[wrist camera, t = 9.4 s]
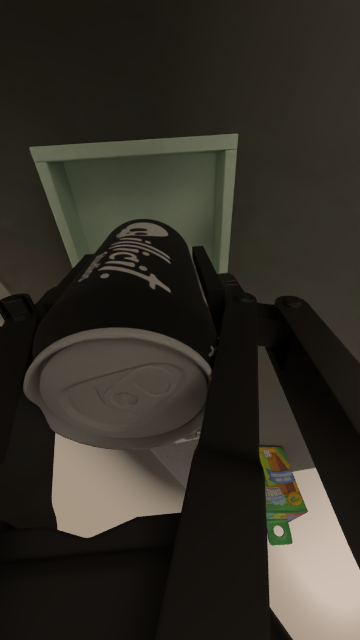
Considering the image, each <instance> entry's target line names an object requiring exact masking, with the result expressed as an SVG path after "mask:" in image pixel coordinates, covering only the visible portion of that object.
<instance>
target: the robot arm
mask: <svg viewBox="0 0 360 640" xmlns="http://www.w3.org/2000/svg"><path fill="white" fill-rule="evenodd" d="M93 255H94V254H85V255H84V256H83V258H82V259H81V260H80V261H79V262H78V263H77V264H76V266H75V267H74V268H73V269H72V270H71V271H70V272H69V273H68V275H67V276H66V277H65V278H64V279H63V280H62V281H61V282H60V284H59V285H58V286H57V287H54V288H52V289H50V290H49V291H47V292H46V293H45V294H44V295H43V297H42V298H41V299H40V300H39V301H38V302H37V303H36V304H35V305H34V303H33V301H32V299H31V297H30V296H29V295H28V294H15V295H12V296H8V297H6V298H3V299H2V300H0V314H1V315H2V317H3V319H4V320H5V322H4V324H3V326H1V327H0V640H293V639H292V638H291V637H290V635H289V634H288V632H287V631H286V629H285V628H284V626H283V625H282V624H281V622H280V621H279V619H278V618H277V617H276V615H275V614H274V612H273V611H272V610H271V608H270V607H269V580H268V579H269V578H268V549H267V519H266V490H265V475H264V469H263V466H262V464H261V463H260V453H259V399H258V345H259V346H265V348H266V351H267V353H268V355H269V358H270V360H271V363H272V365H273V367H274V370H275V372H276V374H277V377H278V379H279V382H280V384H281V386H282V389H283V391H284V393H285V396H286V398H287V400H288V403H289V405H290V408H291V410H292V412H293V415H294V417H295V419H296V422H297V424H298V427H299V429H300V431H301V434H302V436H303V438H304V441H305V443H306V445H307V448H308V450H309V453H310V455H311V457H312V460H313V462H314V464H315V467H316V469H317V471H318V474H319V476H320V479H321V481H322V483H323V486H324V488H325V490H326V493H327V495H328V497H329V500H330V502H331V505H332V507H333V509H334V512H335V514H336V516H337V519H338V521H339V524H340V526H341V528H342V531H343V533H344V535H345V538H346V540H347V543H348V545H349V547H350V549H351V551H352V554H353V556H354V558H355V560H356V562H357V564H358V567H359V569H360V363H359V362H358V361H357V360H356V359H355V357H354V356H353V355H352V354H351V353H350V352H349V350H348V349H347V348H346V347H345V346H344V345H343V344H342V342H341V341H340V340H339V339H338V338H337V337H336V335H335V334H334V333H333V332H332V331H331V330H330V329H329V327H328V326H327V325H326V324H325V323H324V322H323V320H322V319H321V318H320V317H319V316H318V315H317V314H316V312H315V311H314V310H313V309H312V308H311V307H310V305H309V304H308V303H307V302H306V301H304V300H303V299H300V298H298V297H294V296H281V297H279V298H277V299H276V300H275V304H274V305H270V304H262V303H257V300H256V297H254V296H253V295H251V294H249V293H245V292H244V291H243V289H242V288H241V286H240V285H239V283H238V282H237V280H236V279H235V277H234V276H233V275H231V274H229V273H220V274H217V273H216V271H215V269H214V267H213V265H212V263H211V261H210V259H209V257H208V255H207V253H206V251H205V249H204V247H203V246H192V258H193V261H194V265H195V268H196V271H197V274H198V277H199V280H200V283H201V286H202V290H203V293H204V296H205V299H206V302H207V305H208V308H209V311H210V314H211V318H212V321H213V324H214V327H215V330H216V333H217V336H218V337H219V341H218V346H217V351H216V356H215V361H214V367H213V372H212V377H211V382H210V387H209V392H208V397H207V402H206V407H205V412H204V417H203V422H202V427H201V432H200V437H199V442H198V445H197V447H196V449H195V452H194V455H193V459H192V463H191V468H190V473H189V477H188V482H187V487H186V493H185V497H184V502H183V506H182V511H181V513H173V514H162V515H153V516H143V517H136V518H134V519H132V520H130V521H127V522H125V523H123V524H120V525H118V526H116V527H114V528H112V529H109V530H107V531H105V532H103V533H100V534H98V535H96V536H93V537H91V538H83V537H80V536H76V535H73V534H70V533H66V532H63V531H59V530H57V521H56V516H55V513H54V510H53V507H52V497H51V496H52V478H53V462H54V460H53V459H54V444H55V432H54V431H53V430H52V429H51V428H50V426H49V424H48V422H47V419H46V417H45V415H44V413H43V411H42V410H41V408H40V407H39V406H38V405H37V404H35V403H33V402H32V401H30V400H29V399H28V398H27V397H26V395H25V394H24V392H23V383H24V378H25V375H26V372H27V371H28V369H29V367H30V365H31V364H32V362H33V355H32V347H33V341H34V337H35V333H36V330H37V328H38V326H39V324H40V322H41V321H42V319H43V318H44V317H45V315H46V314H47V313H48V312H49V310H50V309H51V308H52V306H53V305H54V304H55V303H56V301H57V300H58V299H59V298H60V296H61V295H62V294H63V293H64V291H65V290H66V289H67V288H68V286H69V285H70V284H71V282H72V281H73V280H74V279H75V277H76V276H77V275H78V274H79V272H80V271H81V270H82V269H83V267H84V266H85V265H86V264H87V262H88V261H89V260H90V258H91V257H92V256H93Z"/></svg>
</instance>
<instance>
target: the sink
mask: <svg viewBox="0 0 360 640" xmlns="http://www.w3.org/2000/svg"><path fill="white" fill-rule="evenodd" d="M237 144H238V134H225V135H209V136H194V137H178V138H163V139H147V140H132V141H116V142H101V143H85V144H69V145H54V146H38V147H29V149H30V152H31V154H32V157H33V160H34V162H36V163H35V165H36V168H37V171H38V173H39V176H40V179H41V182H42V184H43V187H44V190H45V193H46V196H47V198H48V201H49V204H50V207H51V209H52V212H53V215H54V218H55V220H56V223H57V226H58V229H59V231H60V234H61V237H62V240H63V243H64V245H65V248H66V251H67V254H68V256H69V259H70V262H71V265H72V267H73V268H74V267H75V266H76V264H77V263H78V262H79V261H80V260H81V259H82V258H83V256H84V255H85V254H94V253H95V252H96V251H97V250H98V248H99V247H100V246H101V245H102V243H103V242H104V241H105V240H106V238H107V237H108V236H109V234H110V233H111V232H112V231H113V230H114V229H115V228H117V227H118V226H120V225H121V224H123V223H125V222H128V221H131V220H135V219H152V220H156V221H160V222H162V223H165V224H167V225H169V226H170V227H172V228H173V229H174V230H176V231H177V232H178V233H179V234H180V235H181V236H182V237H183V239H184V240H185V242H186V243H187V245H188V247H189V249H190V252H191V255H192V246H203V247H204V249H205V251H206V253H207V255H208V257H209V259H210V261H211V263H212V265H213V267H214V269H215V271H216V273H217V274H220V273H227V271H228V258H229V246H230V233H231V220H232V207H233V195H234V182H235V169H236V156H237V150H236V149H237Z"/></svg>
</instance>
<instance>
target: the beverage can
mask: <svg viewBox="0 0 360 640" xmlns="http://www.w3.org/2000/svg"><path fill="white" fill-rule="evenodd" d="M218 341H219V339H218V336H217V333H216V330H215V327H214V324H213V321H212V318H211V314H210V311H209V308H208V305H207V302H206V299H205V296H204V293H203V290H202V286H201V283H200V280H199V277H198V274H197V271H196V268H195V265H194V261H193V258H192V255H191V252H190V249H189V247H188V245H187V243H186V242H185V240H184V239H183V237H182V236H181V235H180V234H179V233H178V232H177V231H176V230H174V229H173V228H172V227H170V226H169V225H167V224H165V223H162V222H160V221H156V220H152V219H135V220H131V221H128V222H125V223H123V224H121V225H120V226H118V227H117V228H115V229H114V230H113V231H112V232H111V233H110V234H109V236H108V237H107V238H106V240H105V241H104V242H103V243H102V245H101V246H100V247H99V248H98V250H97V251H96V252H95V253H94V255H93V256H92V257H91V258H90V260H89V261H88V262H87V264H86V265H85V266H84V267H83V269H82V270H81V271H80V272H79V274H78V275H77V276H76V277H75V279H74V280H73V281H72V282H71V284H70V285H69V286H68V288H67V289H66V290H65V291H64V293H63V294H62V295H61V296H60V298H59V299H58V300H57V301H56V303H55V304H54V305H53V306H52V308H51V309H50V310H49V312H48V313H47V314H46V315H45V317H44V318H43V319H42V321H41V322H40V324H39V326H38V328H37V330H36V333H35V337H34V341H33V347H32V355H33V362H32V364H31V365H30V367H29V369H28V371H27V372H26V375H25V378H24V383H23V392H24V394H25V395H26V397H27V398H28V399H29V400H30V401H32V402H33V403H35V404H37V405H38V406H39V407H40V408H41V410H42V411H43V413H44V415H45V417H46V419H47V422H48V424H49V426H50V428H51V429H52V430H53V431H54V432H55V433H57V434H59V435H61V436H63V437H65V438H68V439H70V440H73V441H76V442H78V443H82V444H86V445H90V446H93V447H99V448H105V449H118V450H134V449H146V448H153V447H157V446H162V445H166V444H170V443H173V442H175V441H178V440H181V439H183V438H185V437H187V436H189V435H191V434H192V433H194V432H195V431H197V430H198V429H199V428H201V427H202V422H203V417H204V412H205V407H206V402H207V397H208V392H209V387H210V382H211V377H212V372H213V367H214V361H215V356H216V351H217V346H218Z"/></svg>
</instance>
